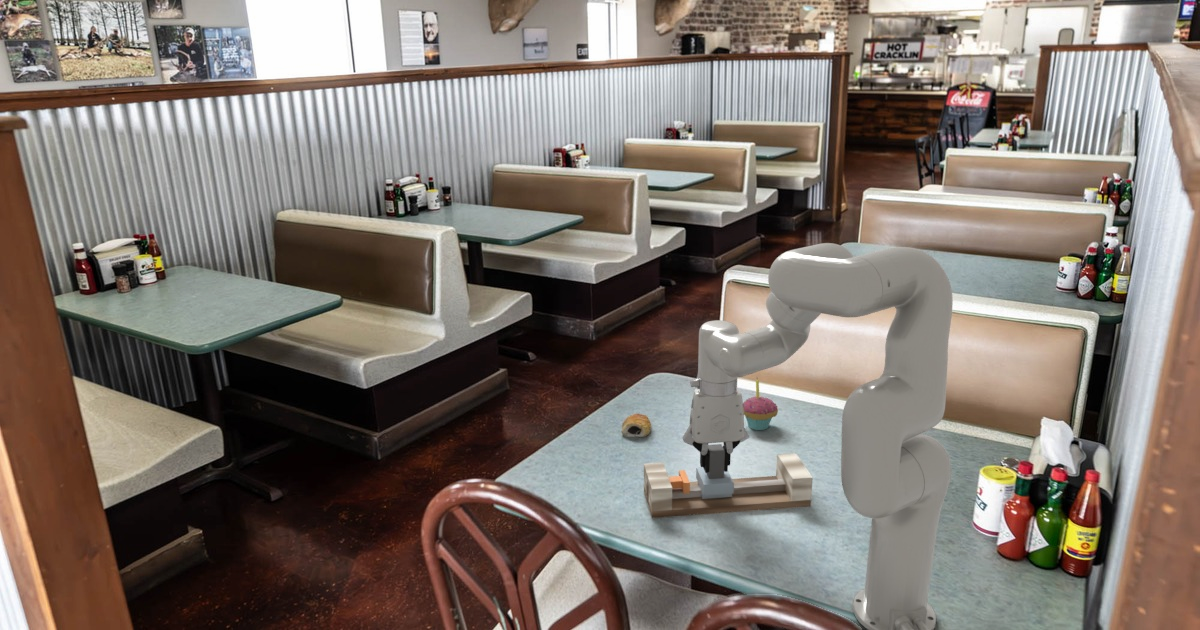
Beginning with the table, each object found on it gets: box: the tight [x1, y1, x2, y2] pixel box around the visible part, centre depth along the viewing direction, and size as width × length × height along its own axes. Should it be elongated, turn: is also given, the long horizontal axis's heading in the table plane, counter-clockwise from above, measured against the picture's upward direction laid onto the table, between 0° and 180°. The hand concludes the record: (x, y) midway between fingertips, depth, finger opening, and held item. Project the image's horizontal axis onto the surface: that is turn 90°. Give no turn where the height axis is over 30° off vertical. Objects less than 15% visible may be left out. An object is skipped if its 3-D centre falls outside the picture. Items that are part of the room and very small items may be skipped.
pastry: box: [620, 413, 652, 438], centre depth 196 cm, size 9×7×4 cm
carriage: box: [695, 443, 734, 499], centre depth 164 cm, size 7×6×10 cm
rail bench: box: [643, 452, 814, 519], centre depth 165 cm, size 10×32×6 cm, turn 96°
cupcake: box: [743, 377, 779, 431], centre depth 195 cm, size 9×8×12 cm
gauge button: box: [668, 469, 691, 494], centre depth 164 cm, size 5×6×2 cm
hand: (714, 468), depth 164 cm, fingers closed on carriage, 3 cm apart
